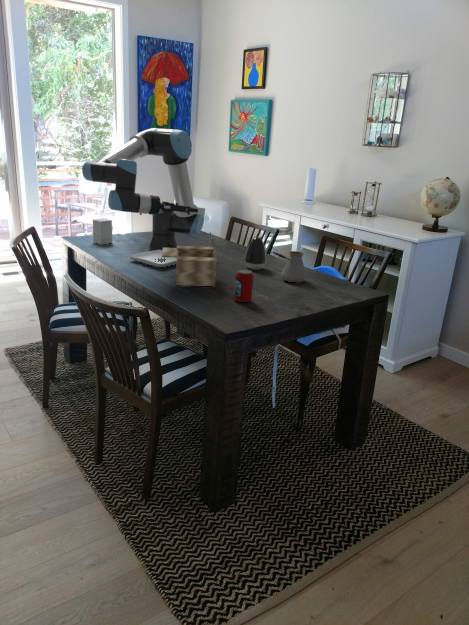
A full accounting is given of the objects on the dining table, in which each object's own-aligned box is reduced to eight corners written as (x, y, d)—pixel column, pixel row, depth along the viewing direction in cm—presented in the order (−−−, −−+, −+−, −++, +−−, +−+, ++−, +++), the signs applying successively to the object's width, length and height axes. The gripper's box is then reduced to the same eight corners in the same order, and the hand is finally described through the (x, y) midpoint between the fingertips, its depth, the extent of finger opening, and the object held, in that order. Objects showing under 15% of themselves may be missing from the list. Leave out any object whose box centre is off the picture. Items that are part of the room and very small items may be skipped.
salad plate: (159, 255, 254) (159, 248, 253) (191, 263, 243) (191, 256, 241) (127, 262, 237) (127, 255, 236) (160, 271, 226) (161, 264, 225)
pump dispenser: (268, 267, 243) (271, 237, 238) (260, 272, 234) (263, 240, 229) (249, 264, 247) (251, 233, 242) (240, 268, 238) (243, 237, 233)
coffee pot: (292, 275, 233) (295, 244, 228) (311, 282, 225) (315, 249, 220) (259, 282, 219) (262, 249, 214) (278, 289, 211) (282, 255, 206)
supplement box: (112, 243, 268) (112, 220, 264) (101, 245, 263) (100, 221, 258) (104, 241, 273) (104, 217, 268) (92, 242, 267) (92, 219, 263)
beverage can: (233, 297, 197) (235, 268, 193) (250, 298, 198) (252, 269, 194) (234, 303, 191) (236, 273, 187) (252, 304, 191) (254, 274, 187)
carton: (161, 289, 201) (161, 258, 196) (162, 272, 223) (163, 244, 219) (215, 291, 204) (217, 260, 199) (211, 274, 226) (213, 247, 222)
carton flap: (211, 239, 201) (212, 238, 201) (209, 232, 214) (210, 232, 214) (216, 258, 204) (218, 257, 204) (214, 250, 217) (215, 250, 217)
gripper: (139, 212, 210) (187, 217, 220) (156, 216, 189) (208, 222, 198) (141, 194, 209) (189, 200, 218) (158, 195, 187) (210, 202, 196)
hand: (198, 210), depth 208 cm, fingers open, 13 cm apart
